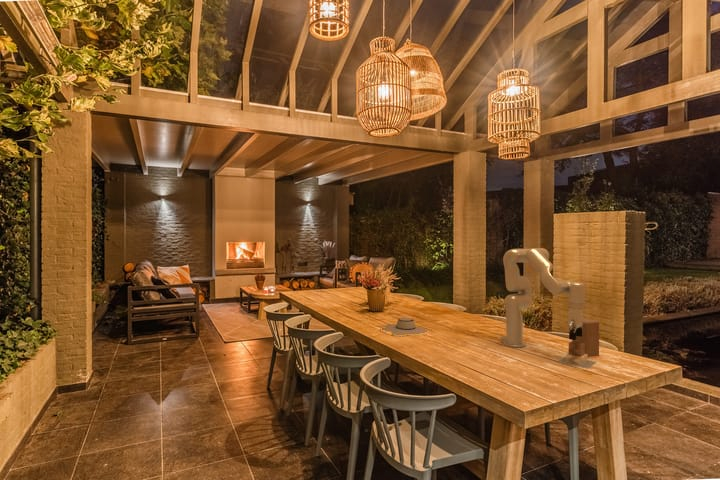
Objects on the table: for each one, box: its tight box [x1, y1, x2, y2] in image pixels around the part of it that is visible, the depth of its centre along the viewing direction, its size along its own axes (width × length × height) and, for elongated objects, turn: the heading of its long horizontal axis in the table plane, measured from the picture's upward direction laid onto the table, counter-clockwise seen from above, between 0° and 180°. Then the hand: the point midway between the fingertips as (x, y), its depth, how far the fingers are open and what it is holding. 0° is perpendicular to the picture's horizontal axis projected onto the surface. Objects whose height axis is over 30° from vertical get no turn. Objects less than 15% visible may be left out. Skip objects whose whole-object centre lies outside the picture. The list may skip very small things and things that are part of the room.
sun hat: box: [381, 317, 427, 335], centre depth 288 cm, size 36×36×9 cm
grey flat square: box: [557, 356, 597, 370], centre depth 210 cm, size 15×15×1 cm
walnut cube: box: [568, 340, 585, 357], centre depth 210 cm, size 6×6×6 cm
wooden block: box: [571, 317, 600, 358], centre depth 225 cm, size 10×10×20 cm
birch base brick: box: [565, 352, 589, 365], centre depth 210 cm, size 8×8×4 cm
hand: (575, 337), depth 211 cm, fingers open, 9 cm apart
